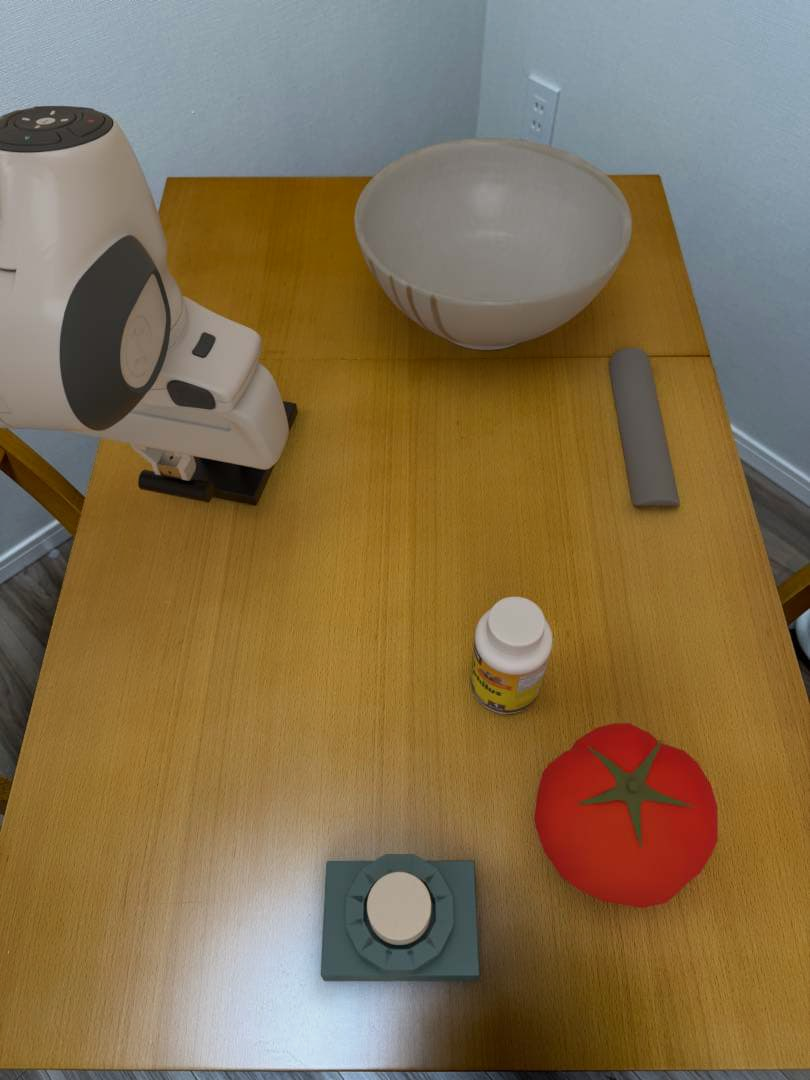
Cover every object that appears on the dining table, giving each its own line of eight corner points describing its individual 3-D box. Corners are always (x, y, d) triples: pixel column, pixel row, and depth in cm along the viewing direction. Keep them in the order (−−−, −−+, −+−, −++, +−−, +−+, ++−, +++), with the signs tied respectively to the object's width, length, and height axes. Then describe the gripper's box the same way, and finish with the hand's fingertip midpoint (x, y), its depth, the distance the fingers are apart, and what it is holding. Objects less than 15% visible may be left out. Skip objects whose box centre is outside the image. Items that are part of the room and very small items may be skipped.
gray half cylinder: (649, 360, 88) (653, 347, 86) (681, 512, 77) (686, 500, 75) (607, 360, 88) (610, 347, 87) (633, 512, 77) (637, 500, 75)
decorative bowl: (349, 396, 86) (339, 299, 76) (372, 233, 101) (366, 134, 91) (620, 405, 84) (646, 307, 74) (601, 238, 100) (620, 138, 90)
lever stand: (256, 506, 78) (230, 407, 67) (164, 488, 79) (125, 388, 69) (298, 412, 85) (280, 309, 74) (213, 397, 86) (184, 293, 75)
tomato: (678, 756, 64) (718, 697, 55) (710, 921, 57) (761, 883, 49) (518, 757, 64) (533, 699, 55) (531, 922, 57) (551, 885, 49)
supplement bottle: (456, 671, 68) (461, 605, 60) (516, 641, 69) (529, 573, 61) (492, 729, 65) (503, 669, 57) (554, 697, 67) (573, 634, 58)
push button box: (323, 981, 55) (317, 971, 52) (329, 869, 59) (323, 853, 56) (477, 980, 55) (481, 970, 52) (473, 868, 59) (476, 852, 56)
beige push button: (367, 945, 53) (366, 940, 52) (369, 878, 56) (367, 871, 54) (431, 945, 53) (431, 940, 52) (430, 878, 56) (430, 871, 54)
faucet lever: (212, 506, 72) (202, 498, 69) (146, 492, 72) (134, 485, 70) (251, 359, 74) (243, 348, 72) (187, 348, 75) (176, 336, 72)
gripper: (-30, 351, 59) (44, 477, 70) (250, 401, 56) (279, 525, 67) (16, 292, 62) (79, 422, 74) (282, 336, 59) (304, 465, 70)
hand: (176, 471), depth 70 cm, fingers closed, pressing on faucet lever
